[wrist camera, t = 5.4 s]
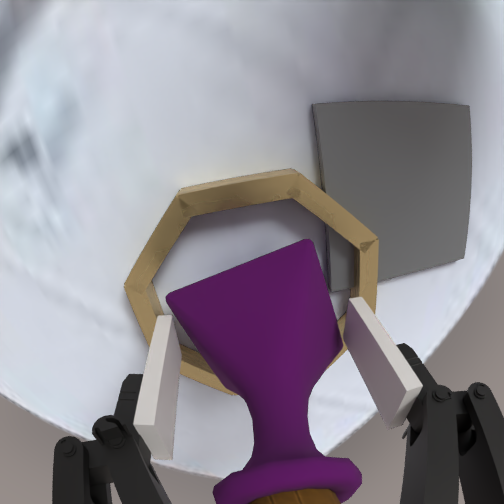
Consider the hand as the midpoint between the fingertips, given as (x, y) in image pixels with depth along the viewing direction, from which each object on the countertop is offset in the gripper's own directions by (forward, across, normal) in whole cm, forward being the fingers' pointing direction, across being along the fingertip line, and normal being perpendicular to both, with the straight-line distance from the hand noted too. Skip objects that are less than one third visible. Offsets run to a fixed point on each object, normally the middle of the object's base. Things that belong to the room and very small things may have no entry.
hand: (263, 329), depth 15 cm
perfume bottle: (+4, 0, 0) cm, 4 cm away
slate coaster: (+4, +9, +6) cm, 12 cm away
